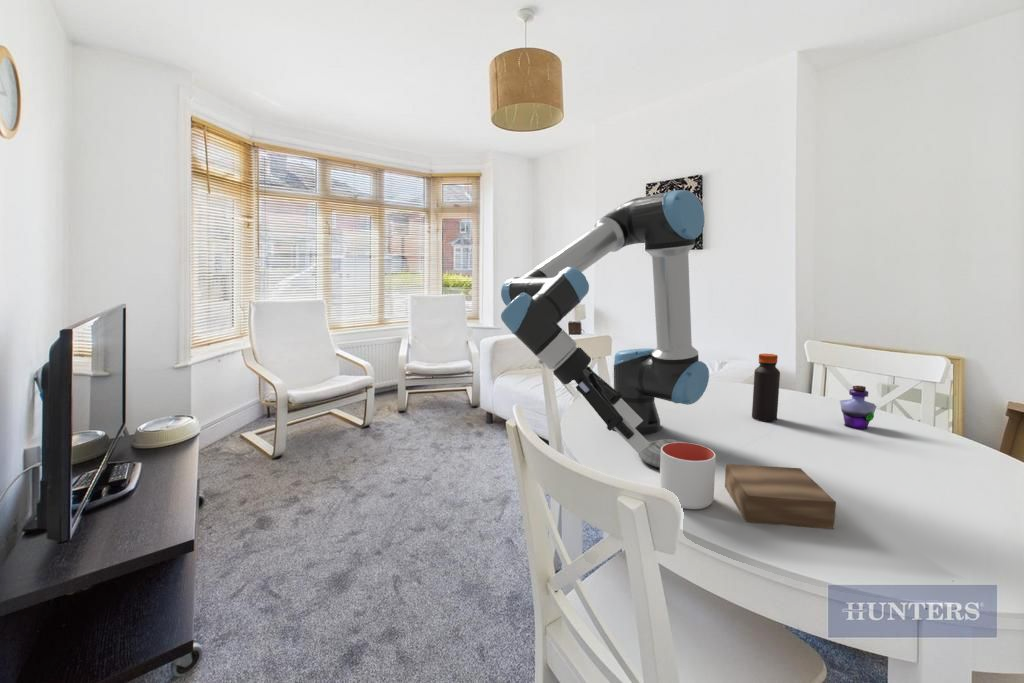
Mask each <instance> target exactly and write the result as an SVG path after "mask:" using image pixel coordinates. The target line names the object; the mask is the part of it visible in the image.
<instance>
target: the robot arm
mask: <svg viewBox="0 0 1024 683" xmlns="http://www.w3.org/2000/svg"><path fill="white" fill-rule="evenodd" d="M704 226H705V211H704V208H703V205H702V203H701V201H700V200H699V197H697V195H696V194H695V193H694V192H692V191H690V190H687V189H686V190H685V189H680V190H679V189H678V190H670V191H665V192H661V193H657V194H652V195H646V196H640V197H636V198H633V199H631V200H628V201H627V202H624V203H623V204H620V205H619V206H617V207H616V208H614V209H613V210H611V211H610V212H607V214H605V215H604V216H602V217H601V218H599V219H598V220H597V221H596V222H595V224H594V227H593V228H591V229H590V230H589V231H587V232H585V233H584V234H583V235H581V236H579V237H578V238H577V239H575V240H574V241H573V242H571V243H569V244H568V245H567V246H565V247H563V248H562V249H561V250H559V251H558V252H556V253H555V254H554V255H551V256H550V257H549V258H547V259H546V260H545V261H543V262H541V263H540V264H538V265H537V266H536V267H534V268H533V269H531V270H530V271H527V272H526V273H524V274H523V275H522V276H515V277H511V278H508V279H506V280H505V282H504V283H502V287H501V290H500V298H501V299H502V302H503V304H505V306H506V307H505V308H504V309H503V311H502V312H501V314H500V318H501V321H502V322H503V323H504V325H505V326H506V327H507V329H508V330H509V331H510V332H511V333H512V334H513V335H514V336H515V337H517V339H519V341H520V342H522V343H523V344H524V345H525V346H526V347H527V348H528V349H529V350H530V351H531V352H532V353H533V355H534V356H536V357H537V358H538V364H540V365H543V364H544V365H545V367H547V369H548V370H552V369H553V372H552V373H553V375H554V376H555V377H556V378H557V379H558V380H559V382H561V383H562V384H563V385H569V384H570V383H572V382H573V381H574V382H575V383H576V384H577V385H576V386H575V388H576V390H577V391H578V392H579V393H580V395H582V396H583V398H585V400H586V402H588V404H589V405H590V406H591V407H592V408H593V409H594V411H595V413H597V415H598V416H599V417H600V418H601V420H602V421H603V422H604V423H605V425H606V429H607V430H608V431H616V432H617V433H618V434H619V435H620V436H621V438H622V439H623V440H624V441H625V442H627V444H628V445H629V446H630V447H631V448H633V450H634V451H635V452H636V453H637V454H639V453H640V452H641V451H642V450H643V449H644V448H646V447H647V446H648V445H649V443H650V442H649V441H648V440H647V439H646V438H645V436H643V435H648V434H653V433H656V432H658V431H660V429H661V418H660V415H659V412H658V409H657V406H656V403H655V399H660V400H664V401H668V402H672V403H674V404H680V405H685V406H687V405H693V404H695V403H697V402H698V401H699V400H700V399H701V398H702V396H703V395H704V393H705V391H706V389H707V386H708V385H709V384H708V383H709V380H710V369H709V367H708V365H707V364H706V363H705V362H703V361H702V360H701V361H699V360H700V359H699V350H697V349H696V348H695V347H693V342H692V340H693V339H692V316H691V291H690V290H691V289H690V267H689V265H690V264H689V263H690V262H689V253H690V251H691V250H692V249H693V248H694V246H695V239H696V238H698V237H699V236H700V235H701V234H702V232H703V228H704ZM634 244H635V245H637V244H644V245H645V252H647V254H648V255H649V256H651V258H652V277H653V280H652V281H653V295H654V313H655V314H654V315H655V316H654V317H655V331H656V333H655V335H656V348H633V349H632V348H631V349H625V350H619V351H617V352H616V353H615V354H614V362H613V387H612V386H611V385H610V384H608V382H606V381H605V380H604V379H603V378H602V377H600V376H599V375H598V374H597V373H596V372H595V371H594V370H593V369H592V368H591V366H589V365H590V363H591V362H592V358H591V357H590V356H589V355H588V354H587V352H585V350H584V349H583V348H581V347H579V346H577V342H576V341H575V339H573V338H572V337H571V336H570V335H569V334H568V333H567V332H566V330H564V329H563V328H562V327H561V326H560V325H559V323H560V322H561V321H562V320H563V318H565V317H566V316H567V315H568V314H570V312H571V311H573V309H574V308H576V307H577V306H578V305H580V303H581V302H582V300H583V299H584V298H585V297H586V295H588V293H589V290H590V284H589V281H588V280H587V278H586V276H585V274H584V273H583V272H584V271H586V270H587V269H588V268H589V267H591V266H592V265H594V264H595V263H597V262H598V261H599V260H601V259H603V258H604V257H605V256H606V255H607V254H609V253H610V252H611V253H614V252H618V251H620V250H621V249H623V248H625V247H627V246H631V245H634Z"/></svg>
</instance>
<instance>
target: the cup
mask: <svg viewBox="0 0 1024 683" xmlns="http://www.w3.org/2000/svg"><path fill="white" fill-rule="evenodd" d="M716 458H717V455H716V453H715V452H714V450H712V449H711V448H709V447H707V446H704V445H702V444H697V443H691V442H685V443H684V441H681V442H675V443H668V444H665V445H663V446H662V447H661V456H660V468H659V488H660V487H661V488H665V489H667V490H669V491H671V492H673V493H674V494H675V495H676V496H677V497H678V499H679V502H680V504H681V508H680V509H685V510H702V509H705V508H707V507H709V506H710V505H711V504H712V503H713V502H714V498H715V497H714V496H715V481H716V480H715V479H716V478H715V476H716Z"/></svg>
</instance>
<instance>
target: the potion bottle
mask: <svg viewBox="0 0 1024 683" xmlns="http://www.w3.org/2000/svg"><path fill="white" fill-rule="evenodd" d="M848 392H849V393H848V394H849V395H850V396H851V399H849V398H848V399H842V400H839V404H840V410H841V412H842V416H843V421H844V423H843V426H844V427H846V428H848V429H849V428H850V429H852V430H861V431H864V430H868V426H869V425H870V424H869V423H870V422H872V421H873V419H874V418H875V415H874V414H875V411H876V410H877V406H876V404H875V403H873V402H869V401H866V400H865V398H866V397H867V398H868V397H869V391H868V390H867V389H866V386H865V385H852V388H850V389H849V391H848Z"/></svg>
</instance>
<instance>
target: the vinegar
mask: <svg viewBox="0 0 1024 683" xmlns="http://www.w3.org/2000/svg"><path fill="white" fill-rule="evenodd" d="M758 364H759V366H758V367H756V368H755V369H754V375H753V376H754V377H753V388H752V389H753V392H752V394H753V395H752V409H751V417H752V419H753V420H756V421H759V422H766V423H773V422H776V421H777V420H778V410H779V409H778V408H779V396H780V395H779V393H780V382H781V381H780V379H781V372H780V370H779V369H778V368H777V366H776V365H777V364H778V355H777V354H774V353H759V354H758Z"/></svg>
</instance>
